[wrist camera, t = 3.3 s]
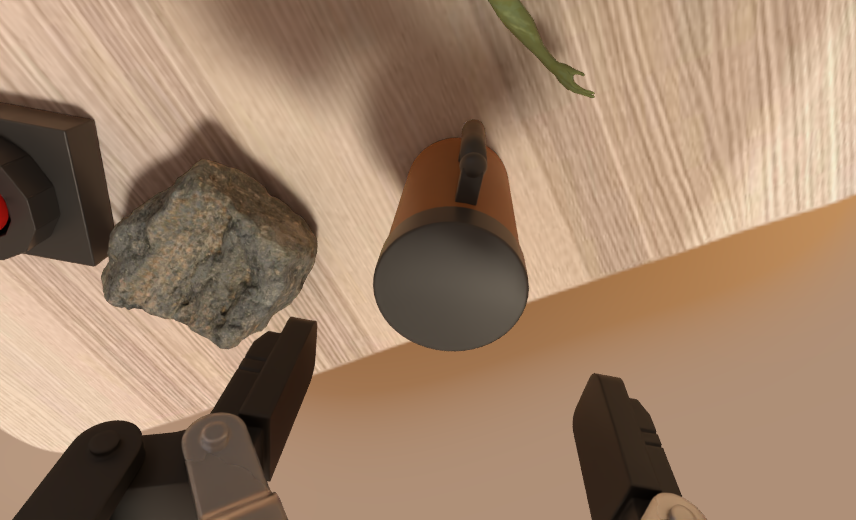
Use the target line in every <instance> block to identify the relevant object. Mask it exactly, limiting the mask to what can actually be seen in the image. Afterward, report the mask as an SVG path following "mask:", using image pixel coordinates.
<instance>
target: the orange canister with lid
mask: <svg viewBox="0 0 856 520" xmlns="http://www.w3.org/2000/svg"><path fill="white" fill-rule="evenodd" d="M373 289H374V296H375V299H376V303H377V305H378V307H379V310H380V312H381V313H382V315H383V317H384V318H385V320H386V321H387V322H388V323H389V325H390V326H391V327H392V328H393V329H395V330H396V331H397V332H398V333H399V334H401V335H402V336H403V337H405V338H407V339H408V340H410V341H412V342H414V343H417V344H418V345H422V346H424V347H427V348H431V349H435V350H442V351H465V350H470V349H475V348H479V347H482V346H485V345H487V344H490V343H492V342H494V341H495V340H497V339H499V338H500V337H502V336H503V335H505V334H506V333H507V332H508V331H509V330H510V329H511V328H512V327H513V326H514V325H515V324H516V322H517V321H518V320H519V318H520V316H521V315H522V313H523V311H524V309H525V306H526V303H527V299H528V291H529V284H528V276H527V270H526V265H525V260H524V256H523V252H522V250H521V247H520V245H519V240H518V234H517V228H516V222H515V216H514V210H513V204H512V199H511V193H510V187H509V181H508V176H507V172H506V169H505V167H504V165H503V163H502V161H501V160H500V158H499V157H498V156H497V154H496V153H495V152H494V151H493V150H491V149H490V148H489V147H487V146H486V139H485V128H484V126H483V124H482V123H481V122H480V121H478V120H474V119H473V120H469V121H467V122H466V123H465V124H464V125H463V128H462V135H461V138H448V139H444V140H440V141H438V142H436V143H433V144H432V145H430V146H428V147H427V148H426V149H424V150H423V151H422V152H421V153H420V154H419V155H418V156H417V158H416V159H415V160H414V162H413V164H412V166H411V168H410V171H409V174H408V177H407V180H406V183H405V186H404V189H403V193H402V196H401V199H400V202H399V205H398V208H397V211H396V215H395V218H394V221H393V224H392V227H391V230H390V234H389V236H388V238H387V239H386V241H385V243H384V245H383V248H382V250H381V253H380V256H379V259H378V262H377V265H376V268H375V273H374V279H373Z"/></svg>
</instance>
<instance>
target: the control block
mask: <svg viewBox="0 0 856 520" xmlns="http://www.w3.org/2000/svg"><path fill="white" fill-rule="evenodd" d="M0 195H1V196H2V197H3V198H4V200H5V202H6V205H7V208H8V214H9V216H8V221H7V223H6V225H5V226H4V227H3V228H2V229H1V230H0V260H5V259H8V258H11V257H14V256H16V255H19V254H22V253H23V254H28V255H34V256H39V257H45V258H50V259H56V260H61V261H67V262H72V263H78V264H83V265H89V266H96V265H98V264H99V263H100V262H101V261H103V260H104V259H105V258H106V257H108V254H107V252H108V249H109V248H108V245H109V240H110V234H111V232H112V230H113V229H114V224H113V219H112V214H111V208H110V203H109V198H108V192H107V187H106V182H105V177H104V171H103V166H102V161H101V155H100V150H99V145H98V139H97V134H96V129H95V123H94V120H92V119H87V118H81V117H76V116H71V115H65V114H60V113H55V112H49V111H44V110H39V109H33V108H28V107H23V106H17V105H12V104H7V103H1V102H0Z"/></svg>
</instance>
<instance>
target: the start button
mask: <svg viewBox="0 0 856 520" xmlns="http://www.w3.org/2000/svg"><path fill="white" fill-rule="evenodd" d="M8 216H9V214H8V208H7V205H6V202H5V200H4V198H3V197H2V196H1V195H0V230H1V229H2V228H3V227H4V226H5V225H6V223H7V221H8Z"/></svg>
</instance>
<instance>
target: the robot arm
mask: <svg viewBox="0 0 856 520" xmlns="http://www.w3.org/2000/svg"><path fill="white" fill-rule="evenodd" d="M316 339H317V322H316V321H312V320H306V319H301V318H295V317H290V318H289V320H288V321H287V323H286V325H285V327H284V329H283V331H282V332H281V333H276V332H271V331H268V332H266V333H265V334H264V335H262V336H261V337H259V338H258V339H257V340H255V341H254V342H253V344H252V345H251V347H250V349H249V350H248V352H247V354H246V356H245V358H244V359H243V360H242V362H241V364H240V365H239V368H238V369H237V370H236V372H235V374H234V375H233V377H232V379H231V380H230V382H229V384H228V385H227V387H226V389H225V390H224V392H223V394H222V395H221V397H220V399H219V400H218V402H217V404H216V405H215V407H214V409H213V410H212V411H211V413H210V414H208V415H206V416H203V417H201V418H199V419H197V420H196V421H194V422H193V423H192V424H191V425H190V426H189V427H188V428H187V429H186V430H183V431H179V432H173V433H163V434H153V435H142V433H141V431H140V429H139V428H138V427H137V426H136V425H134V424H133V423H130V422H127V421H119V420H117V421H108V422H104V423H100V424H98V425H95V426H93V427H91V428H89V429H87V430H86V431H84V432H83V433H81V434H80V435H79V436H78V437H77V438H76V439H75V440H74V441H73V442H72V443H71V445H70V446H69V447H68V449H67V450H66V451H65V452H64V454H63V455H62V456H61V458H60V459H59V460H58V461H57V463H56V464H55V465H54V467H53V468H52V469H51V471H50V472H49V473H48V474H47V476H46V477H45V478H44V480H43V481H42V482H41V483H40V485H39V486H38V487H37V489H36V490H35V491H34V492H33V494H32V495H31V496H30V498H29V499H28V501H26V503H25V504H24V505H23V507H22V508H21V509H20V510H19V512H18V513H17V514H16V516H15V517H14V518H13V519H12V520H288V519H287V516H286V513H285V511H284V508H283V506H282V503H281V501H280V498H279V497H278V495H277V493H276V492H273V493H272V492H271V490H270V488H269V486H268V483H267V481H271V478H272V476H273V473H274V471H275V468H276V466H277V463H278V461H279V458H280V456H281V453H282V451H283V448H284V446H285V443H286V441H287V438H288V436H289V434H290V431H291V429H292V426H293V424H294V421H295V418H296V416H297V414H298V411H299V409H300V406H301V404H302V401H303V399H304V396H305V394H306V392H307V389H308V387H309V384H310V381H311V378H312V375H313V371H314V366H315V355H316ZM573 433H574V438H575V442H576V447H577V452H578V456H579V461H580V466H581V471H582V475H583V480H584V485H585V489H586V494H587V499H588V504H589V508H590V513H591V517H592V520H707V519H706V518H705V516H704V515H703V514H702V512H701V511H700V510H698V508H697V507H696V506H695V505H693V504H692V503H690V502H689V501H688V500H686V499H685V498H683V497H682V495H681V493H680V490H679V487H678V485H677V482H676V480H675V477H674V475H673V472H672V470H671V467H670V465H669V462H668V460H667V457H666V454H665V452H664V449H663V448H661V445H662V444H661V442H660V439H659V437H658V435H657V434H656V429H655V427H654V424H653V422H652V419H651V417H650V415H649V413H648V412H647V411H646V410H645V409H644V407H643V406H642V405H641V404H640V402H639V401H638V400H637V399H631V398H629V396H628V394H627V391H626V388H625V385H624V383H623V381H622V379H621V378H617V377H612V376H607V375H601V374H595V373H594V374H592V375H591V377H590V378H589V381H588V383H587V385H586V387H585V389H584V391H583V394H582V396H581V398H580V400H579V402H578V404H577V407H576V409H575V412H574V416H573Z"/></svg>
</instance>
